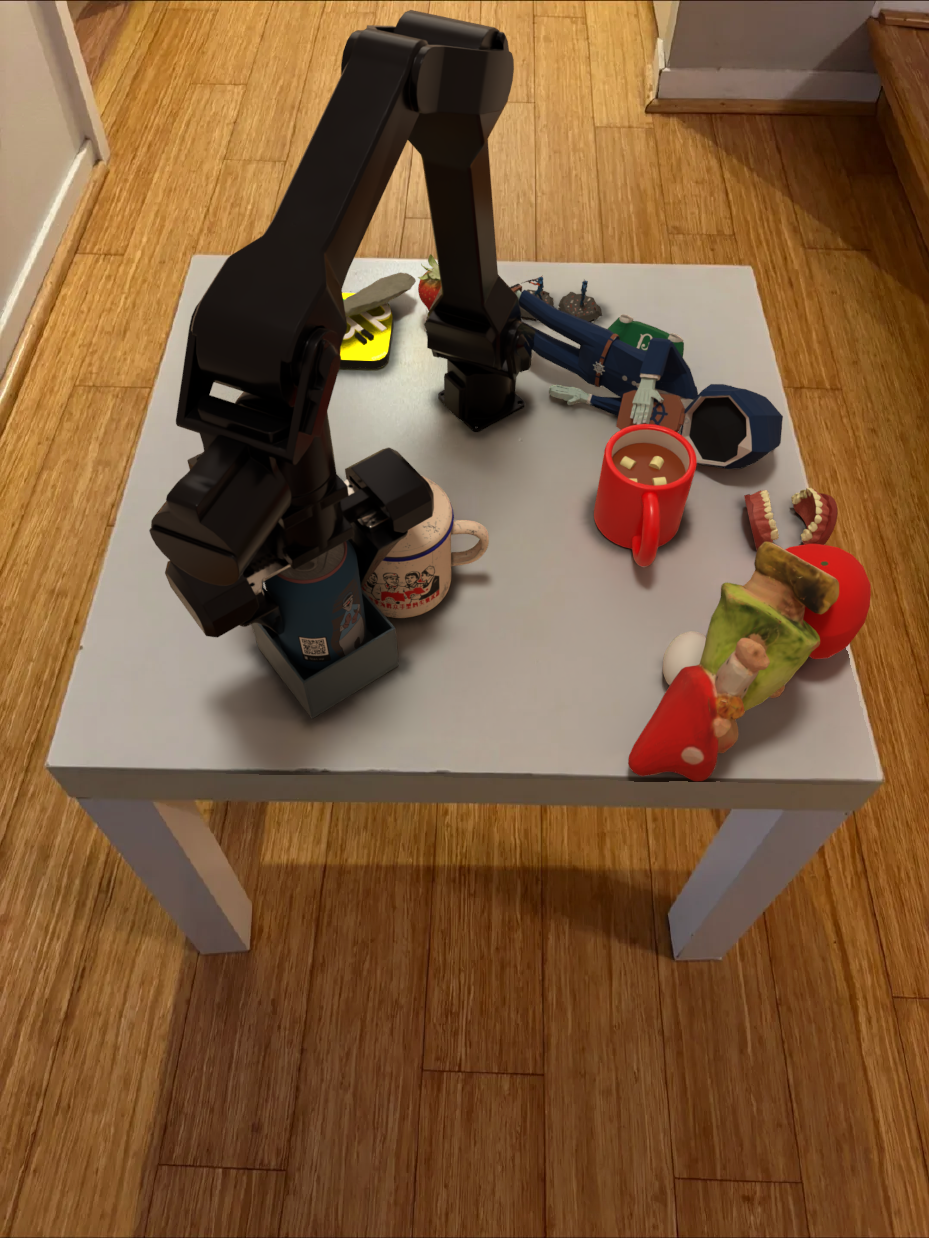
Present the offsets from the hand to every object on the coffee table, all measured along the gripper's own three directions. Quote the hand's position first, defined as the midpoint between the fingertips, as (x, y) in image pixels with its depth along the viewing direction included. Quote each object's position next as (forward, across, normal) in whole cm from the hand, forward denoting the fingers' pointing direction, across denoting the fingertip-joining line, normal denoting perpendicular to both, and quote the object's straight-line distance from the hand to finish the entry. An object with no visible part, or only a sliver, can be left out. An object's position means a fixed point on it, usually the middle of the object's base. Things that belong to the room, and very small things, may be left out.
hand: (318, 606), depth 75 cm
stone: (+4, -26, -32) cm, 41 cm away
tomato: (-1, -33, +20) cm, 39 cm away
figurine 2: (-6, -29, +22) cm, 37 cm away
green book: (+8, -45, -11) cm, 47 cm away
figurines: (+7, -44, -23) cm, 50 cm away
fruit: (+7, -33, -28) cm, 44 cm away
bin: (+7, 0, 0) cm, 7 cm away
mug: (+7, -30, +6) cm, 31 cm away
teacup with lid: (+7, -11, -2) cm, 13 cm away
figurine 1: (+1, -35, -21) cm, 40 cm away
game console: (+7, -20, -36) cm, 42 cm away
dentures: (+5, -37, +10) cm, 39 cm away
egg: (+7, -22, +19) cm, 30 cm away
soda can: (+5, 0, 0) cm, 5 cm away
